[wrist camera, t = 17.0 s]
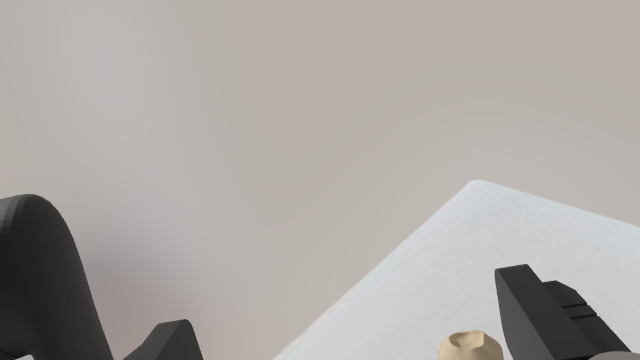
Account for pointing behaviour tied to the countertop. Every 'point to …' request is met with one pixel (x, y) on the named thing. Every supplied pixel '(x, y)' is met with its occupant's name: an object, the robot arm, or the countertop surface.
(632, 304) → the countertop surface
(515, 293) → the robot arm
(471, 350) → the candle
